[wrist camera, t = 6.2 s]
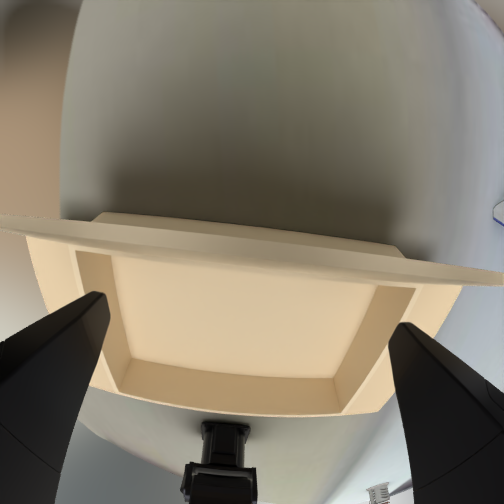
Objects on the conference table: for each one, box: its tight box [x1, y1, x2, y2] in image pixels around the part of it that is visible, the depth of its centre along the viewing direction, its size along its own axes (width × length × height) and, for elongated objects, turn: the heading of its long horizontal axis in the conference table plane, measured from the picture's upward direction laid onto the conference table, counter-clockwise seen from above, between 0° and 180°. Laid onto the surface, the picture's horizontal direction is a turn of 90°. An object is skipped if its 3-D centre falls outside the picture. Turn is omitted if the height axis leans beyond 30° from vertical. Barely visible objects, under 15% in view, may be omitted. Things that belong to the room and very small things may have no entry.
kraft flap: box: [0, 214, 504, 286], centre depth 10 cm, size 8×22×1 cm
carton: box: [26, 212, 463, 417], centre depth 20 cm, size 16×30×5 cm, turn 83°
